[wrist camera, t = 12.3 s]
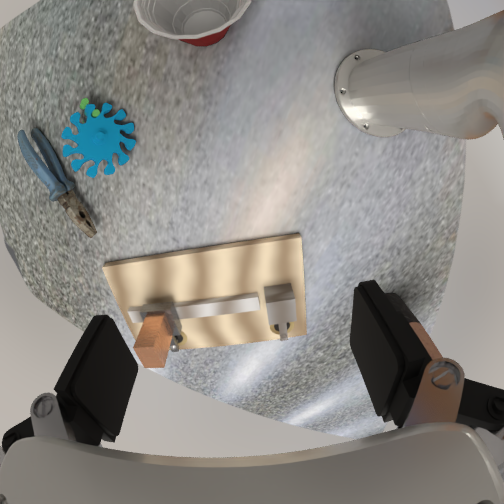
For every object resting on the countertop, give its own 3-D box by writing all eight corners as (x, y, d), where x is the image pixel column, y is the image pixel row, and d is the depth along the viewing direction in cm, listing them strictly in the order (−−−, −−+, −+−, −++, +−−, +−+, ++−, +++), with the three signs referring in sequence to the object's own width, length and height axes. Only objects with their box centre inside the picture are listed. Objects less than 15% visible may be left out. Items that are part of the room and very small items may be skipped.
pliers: (107, 223, 37) (89, 239, 32) (98, 230, 38) (81, 247, 33) (41, 123, 30) (17, 127, 24) (34, 133, 30) (10, 138, 25)
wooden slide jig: (299, 233, 39) (307, 250, 34) (305, 328, 47) (311, 351, 42) (105, 262, 40) (91, 281, 35) (143, 345, 48) (135, 366, 43)
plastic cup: (254, 58, 28) (260, 29, 18) (168, 71, 29) (135, 52, 18) (245, -10, 24) (246, -55, 13) (162, 4, 24) (133, -33, 13)
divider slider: (173, 297, 41) (159, 343, 32) (190, 342, 45) (182, 388, 36) (144, 301, 41) (125, 345, 32) (163, 344, 45) (151, 388, 36)
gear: (147, 159, 32) (75, 188, 26) (133, 170, 37) (71, 196, 31) (123, 86, 29) (52, 106, 23) (112, 105, 33) (50, 125, 27)
